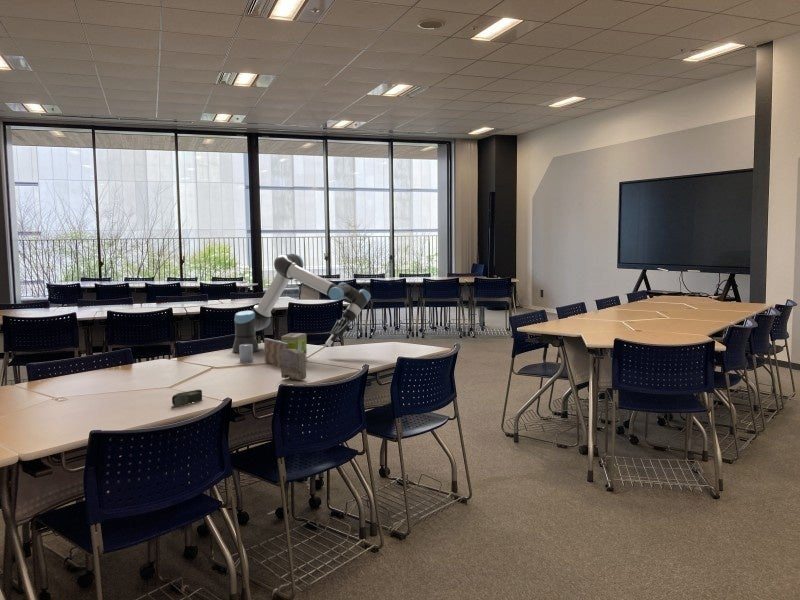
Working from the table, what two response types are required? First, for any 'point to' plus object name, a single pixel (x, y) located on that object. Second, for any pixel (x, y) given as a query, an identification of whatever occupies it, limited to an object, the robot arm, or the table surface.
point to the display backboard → (274, 350)
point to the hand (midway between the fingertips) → (327, 344)
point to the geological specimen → (293, 364)
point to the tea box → (296, 341)
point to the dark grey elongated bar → (186, 397)
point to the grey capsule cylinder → (246, 352)
